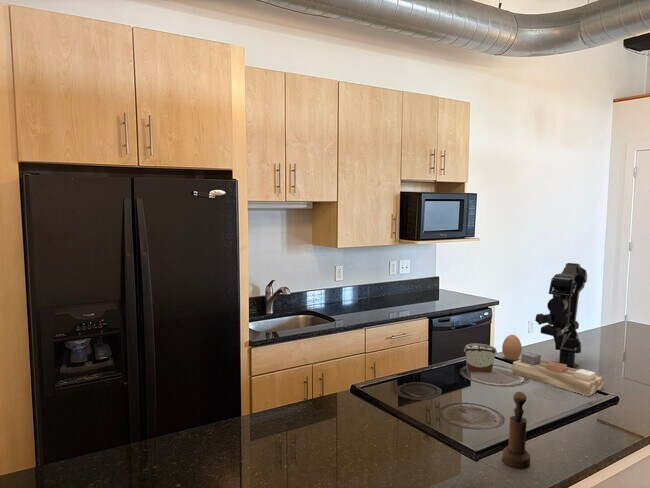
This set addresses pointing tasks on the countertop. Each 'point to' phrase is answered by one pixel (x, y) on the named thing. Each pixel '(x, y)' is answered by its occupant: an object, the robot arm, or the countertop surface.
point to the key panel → (557, 377)
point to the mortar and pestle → (517, 436)
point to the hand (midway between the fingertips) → (558, 349)
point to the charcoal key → (531, 358)
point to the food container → (480, 358)
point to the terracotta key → (557, 367)
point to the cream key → (585, 374)
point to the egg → (512, 347)
